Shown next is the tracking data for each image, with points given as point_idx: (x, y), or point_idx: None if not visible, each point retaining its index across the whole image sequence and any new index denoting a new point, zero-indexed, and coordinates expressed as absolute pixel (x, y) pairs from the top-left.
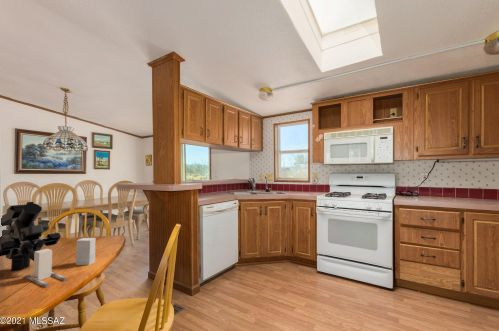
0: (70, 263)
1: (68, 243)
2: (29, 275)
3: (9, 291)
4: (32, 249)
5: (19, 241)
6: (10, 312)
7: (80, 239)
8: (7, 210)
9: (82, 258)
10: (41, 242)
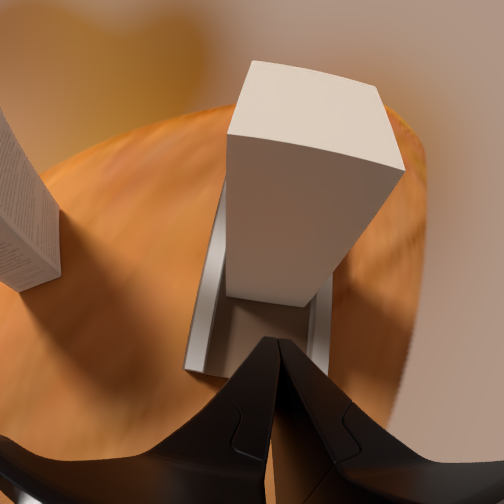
0: (16, 383)
1: None
2: (319, 332)
3: (405, 290)
4: (340, 452)
5: None
6: (415, 140)
7: None
8: None
9: (32, 205)
10: (85, 480)
